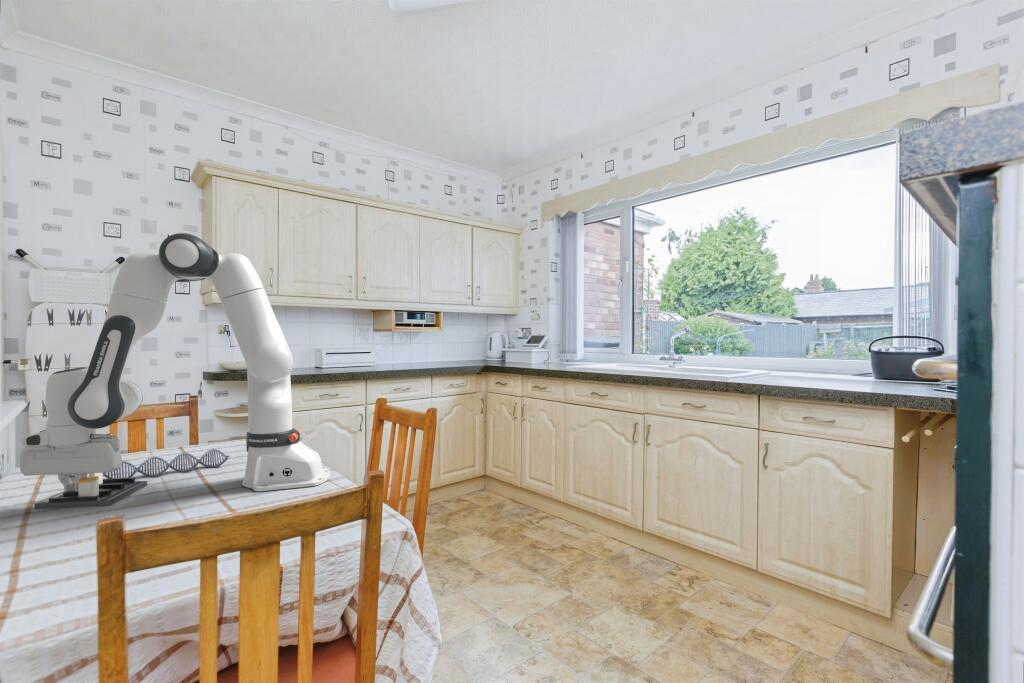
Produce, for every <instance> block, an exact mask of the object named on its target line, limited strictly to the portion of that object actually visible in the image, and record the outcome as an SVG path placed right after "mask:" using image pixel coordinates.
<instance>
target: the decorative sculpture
mask: <svg viewBox="0 0 1024 683" xmlns="http://www.w3.org/2000/svg"><path fill="white" fill-rule="evenodd" d="M229 458H230V455H226V454H225V453H224V452H222V450H220V449H216V448H211V449H209V450H207V451H205V453H204V454H203V455H201V457H200V458H197V457H196V456H195V455H194V454H191V453H189V452H181V453H179V454H178V455H176V456H175V457H174V458H173V459H172V460H171V461H170V462H168V461H166V460H165V459H164V458H162V457H161V456H152V457H149V458H147V459H146V460H144V461H143V462H141V463H140V464H139V465H138V466H136V465H135V464H133V463H131V462H128V461H126V460H125V461H124V460H122V466H121V467H120V468H119V469H118V470H115V471H113V472H108V473H103V477H104V478H105V479H115V478H133V476H134V475H136V474H137V472H138V473H140V474H142V475H143V476H146V477H147V478H148V477H149V478H156V477H159V476H161V475H163V474H164V473H165V472H166V471H167V470H168V469H169V468H170V469H171V470H173V471H175V472H177V473H187V472H190V471H192V470H194V469H195V468H196V467H197V466H198V465H199V464H200V465H201V466H203V467H205V468H210V469H215V468H216V469H217V468H218V467H220V466H222V465H223V464H225V463H226V461H227V460H229Z"/></svg>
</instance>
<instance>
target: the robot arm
mask: <svg viewBox="0 0 1024 683" xmlns="http://www.w3.org/2000/svg"><path fill="white" fill-rule="evenodd" d="M121 264H122V265H121V266H120V268H119V271H118V273H117V276H116V278H115V281H114V284H113V287H112V290H111V291H112V292H111V294H110V299H109V302H108V307H107V312H106V315H105V319H104V322H103V325H102V328H101V331H100V334H99V336H98V339H97V341H96V345H95V348H94V350H93V354H92V355H91V359H90V362H89V366H88V367H85V366H83V367H81V366H80V367H75V368H68V369H63V370H58V371H55V372H53V373H51V375H49V376H48V378H47V381H46V386H45V387H46V388H45V409H46V411H47V421H46V423H45V427H46V428H45V430H40V431H39V432H36V433H33V434H29V435H27V436H26V435H25V436H23V437H22V439H21V445H22V446H23V448H22V449H21V451H20V455H19V456H20V457H19V470H20V471H19V472H20V473H21V474H22V475H23V476H27V477H28V476H51V475H52V476H53V475H55V476H56V475H57V479H58V481H59V482H60V484H62V486H63V490H64V492H79V491H78V480H81V479H83V478H86V477H87V473H106V474H108V472H109V473H111V472H113V473H114V471H115V472H116V470H118V471H119V468H120V467H121V468H122V461H123V459H122V452H121V448H120V444H121V442H120V438H119V437H118V436H116V435H114V433H96V431H97V429H103V428H104V429H105V428H107V427H109V426H111V425H113V424H114V423H115V422H117V421H119V420H120V419H121V420H122V419H123V418H126V417H127V416H129V415H131V414H133V413H135V412H136V411H137V410H138V409H139V408H140V406H141V405H142V402H143V392H142V390H141V388H140V387H139V386H138V385H137V383H134V382H132V381H130V380H127V379H122V378H123V376H124V372H125V370H126V367H127V366H126V365H127V362H128V359H129V356H130V354H131V351H132V350H133V348H134V346H136V344H137V342H139V341H140V340H141V339H143V338H144V337H145V336H147V335H148V334H149V333H150V332H151V333H152V331H154V330H155V329H156V328H157V327H158V326H159V324H160V322H161V320H162V318H163V316H164V312H165V309H166V305H167V302H168V297H169V293H170V290H171V287H172V285H173V284H174V283H175V282H199V281H203V280H208V281H210V283H211V284H212V285H213V287H214V289H215V291H216V293H217V296H218V298H219V301H220V303H221V305H222V308H223V310H224V313H225V315H226V317H227V320H228V323H229V325H230V327H231V329H232V331H233V335H234V336H235V339H236V341H237V344H238V347H239V348H240V351H241V354H242V356H243V359H244V361H245V363H246V368H247V369H246V372H247V374H246V375H247V376H246V377H247V425H248V426H247V432H246V439H245V447H246V453H247V459H246V466H245V471H244V477H243V480H242V486H243V487H245V488H248V489H252V490H253V491H255V492H264V491H265V492H266V491H267V492H268V491H275V490H277V491H278V490H285V489H287V490H288V489H296V488H307V487H316V486H318V485H319V486H320V485H321V484H323V483H325V482H327V481H328V479H329V478H330V477H331V470H330V469H329V468H325V467H323V462H322V459H321V456H320V454H319V453H318V452H317V451H315V450H314V449H312V448H311V447H310V446H308V445H306V444H304V443H303V442H302V441H301V434H302V433H301V432H302V430H301V429H299V430H296V428H294V427H293V396H292V385H291V384H292V383H291V380H292V379H291V372H292V370H293V368H294V357H293V354H292V351H291V349H290V346H289V344H288V342H287V339H286V337H285V334H284V333H283V330H282V327H281V326H280V323H279V321H278V319H277V317H276V315H275V312H274V310H273V308H272V305H271V302H270V300H269V297H268V294H267V292H266V289H265V286H264V285H263V283H262V280H261V278H260V276H259V274H258V272H257V270H256V269H255V267H254V266H253V264H252V262H251V261H250V259H249V258H248V257H247V256H245V255H244V254H242V253H239V252H228V253H223V254H220V253H219V252H218V251H217V250H215V249H214V248H213V247H211V246H210V245H209V244H208V243H206V241H205V240H203V239H201V238H200V237H198V236H197V235H194V234H192V233H187V232H180V233H178V232H177V233H174V234H171V235H168V236H167V237H166V238H164V240H162V242H161V244H160V246H159V248H158V254H150V253H145V252H142V253H141V252H139V253H133V254H130V255H128V256H127V257H126V258H125V259H124V261H123V263H121ZM71 474H75V478H77V480H76V482H75V483H72V481H71V480H70V478H69V476H71Z"/></svg>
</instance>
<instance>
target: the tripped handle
mask: <svg viewBox="0 0 1024 683" xmlns="http://www.w3.org/2000/svg"><path fill="white" fill-rule="evenodd" d="M78 491H79V497H84V496H97V495H99V476H94V477H86V478H83V479H81V480H78Z"/></svg>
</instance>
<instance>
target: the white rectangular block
mask: <svg viewBox="0 0 1024 683" xmlns="http://www.w3.org/2000/svg"><path fill="white" fill-rule="evenodd" d="M87 477H89V473H87ZM69 478H70V480H71V481H72V483H75V482H76V480H77V478H75V474H71V476H69Z"/></svg>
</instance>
